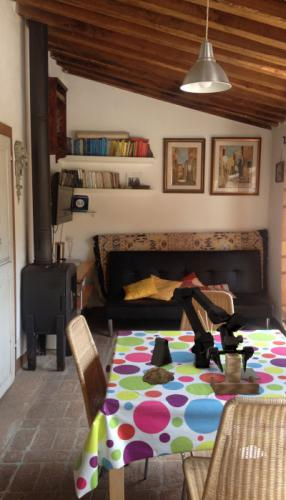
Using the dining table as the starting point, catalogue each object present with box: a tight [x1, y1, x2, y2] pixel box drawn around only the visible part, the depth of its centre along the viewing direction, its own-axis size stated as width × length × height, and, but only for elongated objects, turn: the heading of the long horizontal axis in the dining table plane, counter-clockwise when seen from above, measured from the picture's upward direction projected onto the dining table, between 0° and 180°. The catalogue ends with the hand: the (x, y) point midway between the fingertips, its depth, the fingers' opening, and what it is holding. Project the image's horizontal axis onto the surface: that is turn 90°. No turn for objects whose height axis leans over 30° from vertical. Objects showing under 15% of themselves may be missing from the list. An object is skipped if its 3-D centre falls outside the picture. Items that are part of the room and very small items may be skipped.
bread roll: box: [142, 366, 175, 386], centre depth 186 cm, size 13×12×5 cm
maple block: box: [224, 353, 242, 383], centre depth 178 cm, size 5×5×13 cm
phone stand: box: [149, 336, 174, 368], centre depth 204 cm, size 9×6×12 cm, turn 132°
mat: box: [240, 367, 261, 381], centre depth 192 cm, size 12×12×1 cm
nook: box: [209, 376, 260, 396], centre depth 176 cm, size 17×9×4 cm, turn 93°
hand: (233, 372), depth 176 cm, fingers open, 9 cm apart
